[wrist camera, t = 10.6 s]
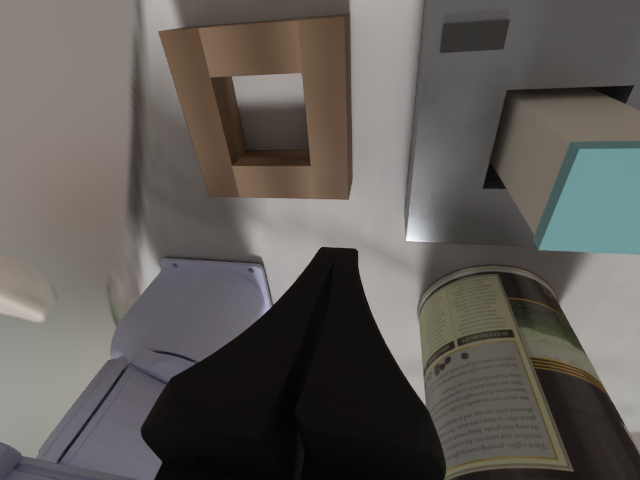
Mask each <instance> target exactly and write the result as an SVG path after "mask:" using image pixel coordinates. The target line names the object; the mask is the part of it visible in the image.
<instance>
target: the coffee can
mask: <svg viewBox="0 0 640 480" xmlns="http://www.w3.org/2000/svg"><path fill="white" fill-rule="evenodd" d="M417 315H418V321H419V325H420V336H421V349H422V362H423V375H424V387H425V400H426V408H427V409H428V411H429V412H430V415H431V418H432V420H433V423H434V425H435V428H436V431H437V433H438V436H439V439H440V442H441V445H442V448H443V452H444V457H445V461H446V476H445V478H444V480H640V452H639V450H638V448H637V446H636V444H635V443H634V441H633V439H632V437H631V435H630V433H629V431H628V429H627V428H626V426H625V424H624V422H623V420H622V419H621V417H620V415H619V413H618V411H617V410H616V407H615V406H614V404H613V402H612V401H611V399H610V397H609V395H608V393H607V392H606V390H605V388H604V386H603V384H602V382H601V381H600V379H599V377H598V375H597V373H596V371H595V369H594V368H593V366H592V364H591V362H590V360H589V359H588V357H587V355H586V353H585V351H584V350H583V348H582V346H581V344H580V342H579V340H578V338H577V336H576V335H575V333H574V331H573V329H572V327H571V326H570V324H569V322H568V320H567V318H566V316H565V315H564V313H563V311H562V309H561V307H560V305H559V304H558V302H557V298H556V296H555V293H554V292H553V290H552V289H551V287H550V286H549V285H548V284H547V283H546V282H545V281H544V280H542V279H541V278H539V277H538V276H536V275H534V274H532V273H530V272H528V271H525V270H522V269H518V268H514V267H509V266H499V265H485V266H476V267H471V268H466V269H463V270H459V271H457V272H454V273H451V274H449V275H447V276H445V277H443V278H441V279H439V280H438V281H437V282H435V283H434V284H433V285H432V286H431V287H430V288H429V289H428V290H427V291H426V292H425V293H424V295H423V296H422V298H421V300H420V303H419V306H418V311H417Z"/></svg>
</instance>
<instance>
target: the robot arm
mask: <svg viewBox="0 0 640 480" xmlns="http://www.w3.org/2000/svg"><path fill="white" fill-rule="evenodd" d="M160 265H161V268H162V271H161V272H160V273H159V274H158V276H157V277H156V278H155V279H154V280H153V282H152V283H151V284H150V285H149V286H148V288H147V289H146V290H145V291H144V292H143V294H142V295H141V296H140V297H139V298H138V300H137V301H136V302H135V303H134V304H133V305H132V307H131V308H130V309H129V310H128V311H127V313H126V314H125V315H124V316H123V318H122V319H121V321H120V322H119V324H118V326H117V328H116V330H115V333H114V336H113V339H112V343H111V350H110V353H111V360H108V361H107V362H106V363H105V365H104V366H103V367H102V368H101V370H100V371H99V372H98V373H97V375H96V376H95V377H94V378H93V380H92V381H91V382H90V384H89V385H88V386H87V387H86V389H85V390H84V391H83V393H82V394H81V395H80V396H79V398H78V399H77V400H76V402H75V403H74V404H73V405H72V407H71V408H70V409H69V411H68V412H67V413H66V415H65V416H64V417H63V418H62V420H61V421H60V422H59V424H58V425H57V426H56V428H55V429H54V430H53V432H52V433H51V434H50V436H49V437H48V438H47V440H46V441H45V443H44V444H43V445H42V447H41V448H40V449H39V455H38V456H37V457H36V459H34V458H29V457H24V456H22V455H21V453H20V452H19V451H17V450H16V449H14V448H13V447H11V446H9V445H7V444H4V443H1V442H0V480H444V478H445V476H446V461H445V457H444V452H443V448H442V445H441V442H440V439H439V436H438V433H437V431H436V428H435V425H434V423H433V420H432V418H431V415H430V412H429V411H428V409H427V408H426V406H425V405H424V404H423V402H422V401H421V399H420V398H419V397H418V395H417V394H416V392H415V391H414V389H413V388H412V386H411V385H410V383H409V382H408V380H407V379H406V377H405V376H404V374H403V373H402V371H401V369H400V368H399V366H398V364H397V363H396V361H395V359H394V357H393V356H392V354H391V352H390V350H389V349H388V347H387V345H386V343H385V341H384V339H383V337H382V335H381V333H380V331H379V329H378V327H377V324H376V322H375V320H374V318H373V315H372V313H371V310H370V307H369V305H368V302H367V299H366V296H365V293H364V289H363V286H362V282H361V278H360V274H359V268H358V251H357V250H356V249H351V248H331V247H321V248H320V249H319V250H318V252H317V253H316V255H315V256H314V258H313V259H312V261H311V262H310V263H309V265H308V266H307V267H306V269H305V270H304V271H303V272H302V274H301V275H300V276H299V277H298V279H297V280H296V281H295V282H294V283H293V285H292V286H291V287H290V288H289V289H288V290H287V291H286V292H285V293H284V295H283V296H282V297H281V298H280V299H279V300H278V301H277V302H276V303H275V304H274V305H273V306H272V303H271V298H270V294H269V290H268V285H267V281H266V277H265V272H264V268H263V267H262V266H261V265H260V264H254V263H238V262H221V261H205V260H188V259H172V258H163V259H162V260H161V261H160ZM250 268H251V269H250ZM252 269H253V270H252Z"/></svg>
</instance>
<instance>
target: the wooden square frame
mask: <svg viewBox="0 0 640 480" xmlns="http://www.w3.org/2000/svg"><path fill="white" fill-rule="evenodd" d="M158 32H159V35H160V38H161V42H162V45H163V48H164V51H165V55H166V58H167V61H168V64H169V68H170V71H171V74H172V77H173V81H174V84H175V87H176V90H177V94H178V97H179V100H180V103H181V107H182V110H183V113H184V116H185V120H186V123H187V126H188V129H189V133H190V136H191V139H192V142H193V146H194V149H195V152H196V155H197V159H198V162H199V165H200V168H201V172H202V175H203V178H204V181H205V185H206V188H207V191H208V194H209V197H252V198H298V199H344V200H349V195H350V190H351V185H352V116H351V47H350V14H345V15H333V16H320V17H308V18H296V19H284V20H271V21H259V22H247V23H235V24H222V25H210V26H198V27H185V28H178V29H172V30H165V31H158ZM287 73H302V77H303V88H304V98H305V109H306V120H307V130H308V141H309V150H247V149H246V145H245V140H244V135H243V130H242V126H241V121H240V116H239V111H238V107H237V102H236V97H235V92H234V88H233V83H232V78H231V76H247V75H267V74H287Z"/></svg>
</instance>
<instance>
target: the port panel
mask: <svg viewBox="0 0 640 480" xmlns="http://www.w3.org/2000/svg"><path fill="white" fill-rule="evenodd" d="M575 87H592V88H591V89H594V90H596V91H598V92H600V93H602V94H605V95H607V96H609V97H611V98H613V99H615V100H618V101H620V102H622V103H624V104H626V105H629V106H631V107H633V108H635V109H637V110H639V111H640V0H425V2H424V12H423V23H422V34H421V44H420V55H419V65H418V76H417V86H416V97H415V108H414V118H413V129H412V139H411V150H410V161H409V171H408V182H407V192H406V203H405V214H404V217H405V233H406V241H417V242H440V243H463V244H486V245H509V246H532V247H536V245H535V244H534V242H533V238H534V236H535V235H534V233H533V232H532V230H531V228H530V227H529V225H528V223H527V222H526V220H525V219H524V217H523V215H522V214H521V212H520V210H519V209H518V207H517V205H516V204H515V202H514V200H513V199H512V197H511V195H510V194H509V192H508V190H507V189H506V187H505V185H504V184H503V182H502V180H501V179H500V177H499V175H498V174H497V172H496V170H495V169H494V167H493V165H489V161H490V157H491V153H492V149H493V145H494V141H495V137H496V132H497V128H498V124H499V120H500V116H501V112H502V108H503V104H504V100H505V96H506V92H507V90H520V89H547V88H575Z"/></svg>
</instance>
